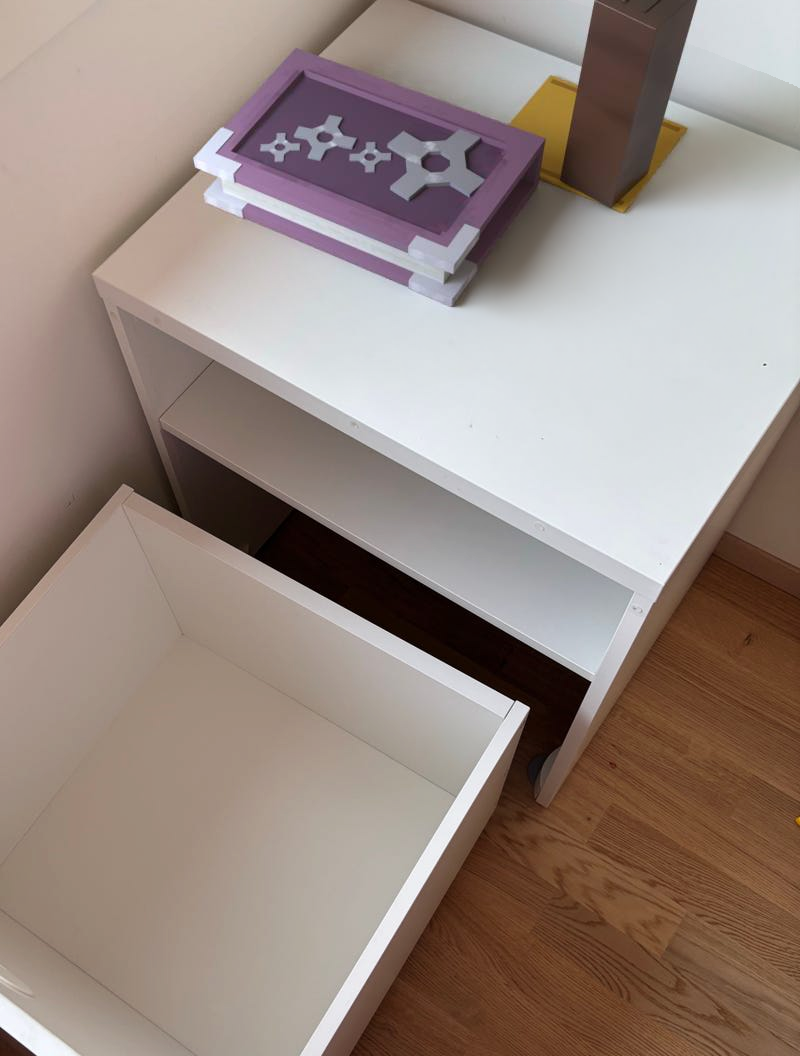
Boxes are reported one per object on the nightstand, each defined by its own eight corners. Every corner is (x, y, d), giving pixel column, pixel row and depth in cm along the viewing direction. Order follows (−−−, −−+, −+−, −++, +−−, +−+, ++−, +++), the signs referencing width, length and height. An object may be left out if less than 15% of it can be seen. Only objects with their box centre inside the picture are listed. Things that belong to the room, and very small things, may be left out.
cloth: (686, 130, 90) (687, 126, 90) (623, 213, 86) (624, 210, 86) (550, 77, 94) (550, 74, 94) (484, 155, 90) (484, 152, 90)
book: (203, 205, 90) (193, 157, 85) (298, 96, 95) (294, 46, 90) (450, 310, 83) (453, 264, 79) (539, 186, 88) (547, 137, 84)
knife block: (596, 146, 89) (638, -39, 75) (648, 173, 88) (701, -11, 73) (559, 180, 88) (594, -2, 73) (610, 209, 86) (657, 28, 72)
